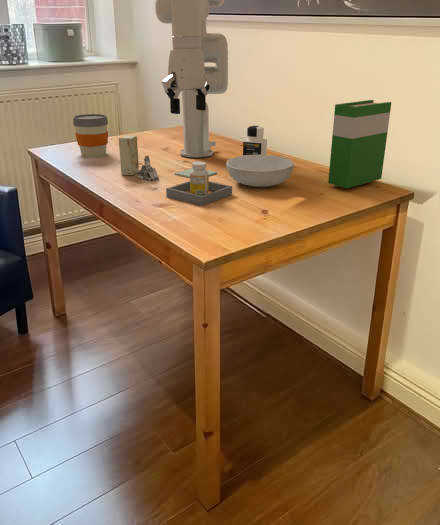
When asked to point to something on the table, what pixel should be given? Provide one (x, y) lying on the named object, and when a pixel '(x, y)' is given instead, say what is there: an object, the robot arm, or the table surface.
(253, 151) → the medicine bottle
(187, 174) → the place mat
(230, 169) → the serving bowl
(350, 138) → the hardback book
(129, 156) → the skincare box
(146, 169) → the grey building model
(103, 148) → the reusable coffee cup
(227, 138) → the table surface
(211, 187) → the grey square frame
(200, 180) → the supplement bottle
